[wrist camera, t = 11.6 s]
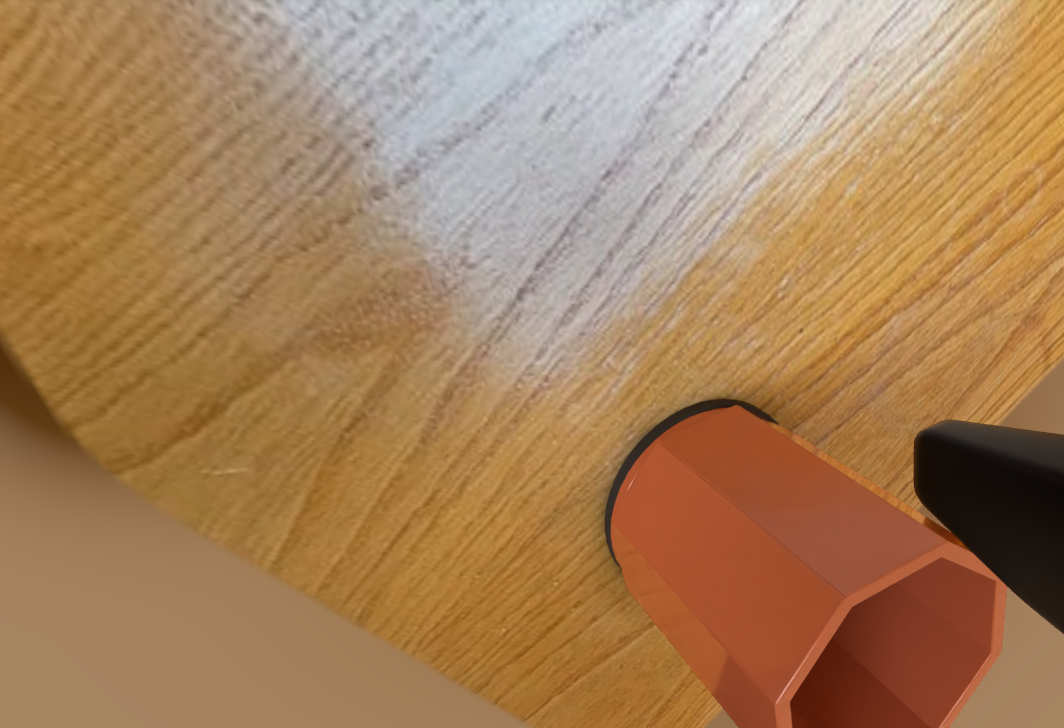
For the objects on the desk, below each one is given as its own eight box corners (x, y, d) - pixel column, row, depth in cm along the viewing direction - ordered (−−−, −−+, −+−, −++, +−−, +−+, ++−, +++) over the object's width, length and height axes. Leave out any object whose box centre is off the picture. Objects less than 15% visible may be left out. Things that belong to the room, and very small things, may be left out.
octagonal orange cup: (629, 624, 25) (790, 836, 18) (591, 459, 22) (767, 640, 15) (794, 538, 27) (998, 703, 20) (780, 375, 24) (1015, 504, 17)
